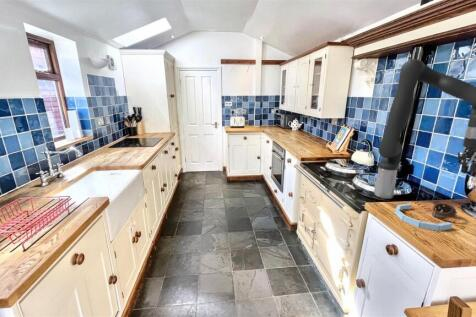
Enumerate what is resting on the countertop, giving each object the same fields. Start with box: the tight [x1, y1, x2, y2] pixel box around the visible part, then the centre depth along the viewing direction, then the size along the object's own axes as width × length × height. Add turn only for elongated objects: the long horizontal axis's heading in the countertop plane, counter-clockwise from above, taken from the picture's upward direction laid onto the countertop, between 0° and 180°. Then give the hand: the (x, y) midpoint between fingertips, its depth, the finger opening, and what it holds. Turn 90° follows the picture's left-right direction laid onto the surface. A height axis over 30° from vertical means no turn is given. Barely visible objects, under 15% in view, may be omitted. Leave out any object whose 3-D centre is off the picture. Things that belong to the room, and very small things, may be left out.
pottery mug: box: [431, 200, 458, 219], centre depth 109 cm, size 12×10×8 cm
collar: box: [394, 203, 453, 231], centre depth 107 cm, size 14×21×2 cm
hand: (468, 172), depth 107 cm, fingers open, 4 cm apart
